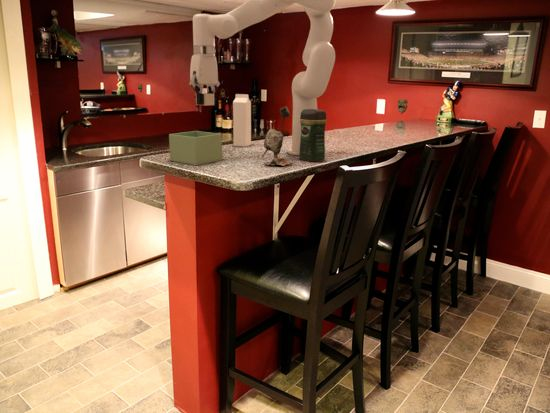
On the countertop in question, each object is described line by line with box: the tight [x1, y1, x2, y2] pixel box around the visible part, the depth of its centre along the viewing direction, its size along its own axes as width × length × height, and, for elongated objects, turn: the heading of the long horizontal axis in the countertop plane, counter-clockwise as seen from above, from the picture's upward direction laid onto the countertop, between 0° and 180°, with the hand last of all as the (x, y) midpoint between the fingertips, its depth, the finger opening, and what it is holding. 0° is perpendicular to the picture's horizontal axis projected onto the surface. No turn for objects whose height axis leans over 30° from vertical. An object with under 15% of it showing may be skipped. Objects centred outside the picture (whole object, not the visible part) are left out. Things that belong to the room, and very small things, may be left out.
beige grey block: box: [195, 92, 215, 107], centre depth 163 cm, size 5×5×4 cm
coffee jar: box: [298, 108, 327, 163], centre depth 163 cm, size 10×8×19 cm
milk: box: [232, 93, 252, 147], centre depth 194 cm, size 6×6×22 cm
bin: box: [168, 130, 223, 166], centre depth 161 cm, size 13×13×10 cm
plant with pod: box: [261, 106, 293, 167], centre depth 154 cm, size 8×11×20 cm
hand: (205, 103), depth 163 cm, fingers closed on beige grey block, 4 cm apart
